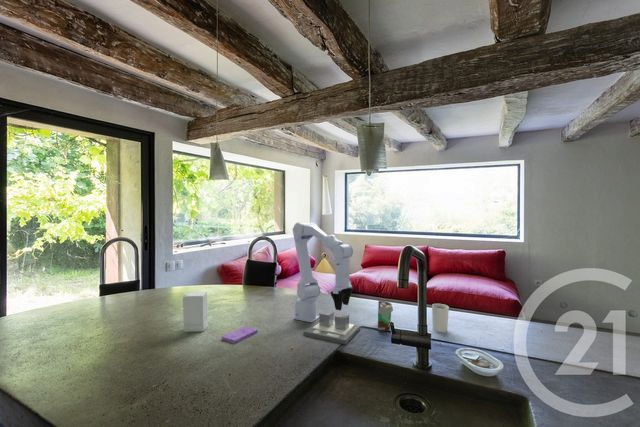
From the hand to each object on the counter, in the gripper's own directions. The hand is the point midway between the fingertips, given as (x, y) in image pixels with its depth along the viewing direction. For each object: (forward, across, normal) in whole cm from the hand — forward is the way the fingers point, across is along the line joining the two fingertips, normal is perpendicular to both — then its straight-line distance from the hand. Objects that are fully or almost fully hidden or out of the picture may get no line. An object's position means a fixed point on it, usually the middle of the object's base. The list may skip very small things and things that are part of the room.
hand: (342, 307), depth 125 cm
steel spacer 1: (+8, 0, +7) cm, 11 cm away
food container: (+11, +14, -14) cm, 22 cm away
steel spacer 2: (+8, 0, 0) cm, 8 cm away
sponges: (+11, -22, +34) cm, 42 cm away
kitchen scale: (+10, -2, +4) cm, 11 cm away
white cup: (+11, +22, -36) cm, 43 cm away
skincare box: (+11, -26, +54) cm, 61 cm away
